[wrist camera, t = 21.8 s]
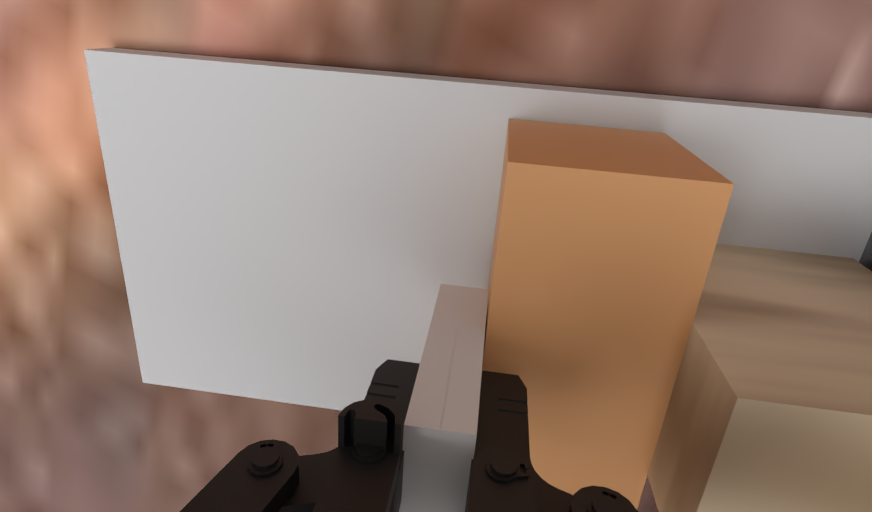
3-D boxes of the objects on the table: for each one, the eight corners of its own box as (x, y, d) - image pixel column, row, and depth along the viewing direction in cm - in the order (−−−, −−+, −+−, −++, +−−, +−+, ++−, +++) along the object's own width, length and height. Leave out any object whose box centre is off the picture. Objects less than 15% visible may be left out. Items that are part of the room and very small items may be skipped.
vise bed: (829, 455, 23) (961, 635, 17) (162, 363, 26) (37, 486, 19) (984, 122, 18) (1281, 187, 11) (112, 47, 20) (-89, 62, 14)
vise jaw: (595, 427, 22) (622, 558, 17) (473, 410, 23) (461, 533, 17) (664, 133, 18) (733, 184, 12) (508, 118, 18) (508, 161, 13)
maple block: (802, 380, 21) (997, 621, 12) (611, 355, 21) (676, 570, 13) (853, 258, 18) (1125, 448, 10) (640, 235, 19) (737, 397, 11)
